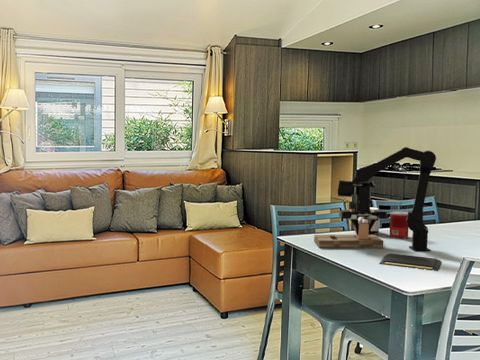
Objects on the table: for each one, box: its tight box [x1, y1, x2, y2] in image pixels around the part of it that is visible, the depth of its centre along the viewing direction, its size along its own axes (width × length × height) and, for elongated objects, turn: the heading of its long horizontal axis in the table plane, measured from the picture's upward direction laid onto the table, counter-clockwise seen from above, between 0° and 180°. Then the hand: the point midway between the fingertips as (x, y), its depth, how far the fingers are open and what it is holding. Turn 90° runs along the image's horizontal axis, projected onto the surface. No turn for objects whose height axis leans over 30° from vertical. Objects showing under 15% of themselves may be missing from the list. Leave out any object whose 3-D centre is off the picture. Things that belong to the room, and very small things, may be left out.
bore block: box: [313, 234, 384, 249], centre depth 197 cm, size 12×26×3 cm, turn 91°
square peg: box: [355, 223, 370, 239], centre depth 197 cm, size 4×4×7 cm
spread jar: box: [353, 206, 380, 235], centre depth 223 cm, size 12×11×12 cm
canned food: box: [389, 210, 409, 239], centre depth 213 cm, size 8×8×11 cm
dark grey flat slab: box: [378, 252, 443, 272], centre depth 170 cm, size 20×2×15 cm
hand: (362, 234), depth 197 cm, fingers closed on square peg, 4 cm apart
